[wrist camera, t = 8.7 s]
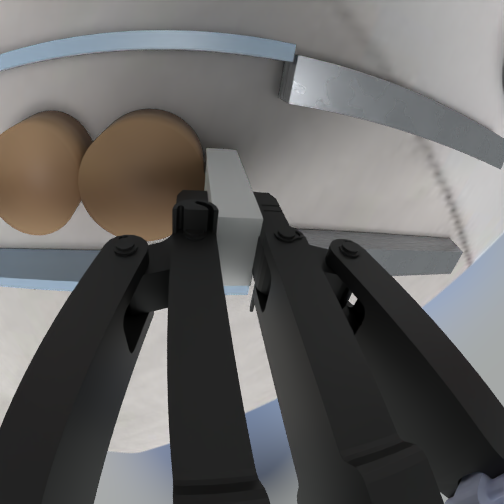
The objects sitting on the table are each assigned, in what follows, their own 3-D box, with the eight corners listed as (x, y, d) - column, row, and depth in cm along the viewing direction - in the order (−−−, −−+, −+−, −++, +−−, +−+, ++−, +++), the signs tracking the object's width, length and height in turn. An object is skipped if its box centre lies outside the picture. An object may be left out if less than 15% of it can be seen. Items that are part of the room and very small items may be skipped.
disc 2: (92, 112, 13) (72, 126, 10) (207, 108, 14) (209, 121, 11) (101, 212, 16) (88, 241, 14) (201, 211, 17) (202, 241, 15)
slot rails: (286, 54, 13) (298, 55, 11) (492, 133, 17) (510, 142, 15) (248, 257, 20) (253, 278, 19) (439, 259, 24) (450, 273, 23)
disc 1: (8, 113, 11) (-21, 128, 9) (98, 109, 13) (79, 123, 10) (16, 205, 14) (-6, 231, 12) (97, 210, 16) (82, 239, 14)
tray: (-49, 76, 8) (-79, 88, 5) (277, 45, 12) (296, 44, 10) (-15, 256, 16) (-32, 283, 13) (240, 262, 20) (247, 294, 18)
